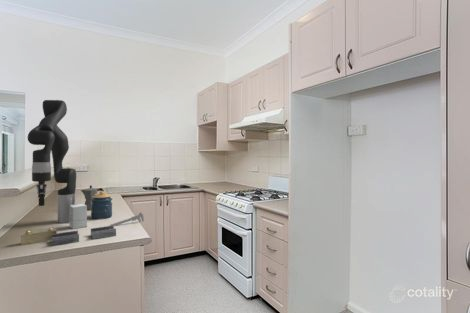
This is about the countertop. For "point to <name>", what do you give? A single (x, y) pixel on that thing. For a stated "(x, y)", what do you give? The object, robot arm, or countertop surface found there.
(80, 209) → the supplement box
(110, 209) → the canister
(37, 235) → the chain link plate
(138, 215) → the caliper
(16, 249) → the countertop surface
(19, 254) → the countertop surface
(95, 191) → the coffeepot
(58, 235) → the metal brackets
